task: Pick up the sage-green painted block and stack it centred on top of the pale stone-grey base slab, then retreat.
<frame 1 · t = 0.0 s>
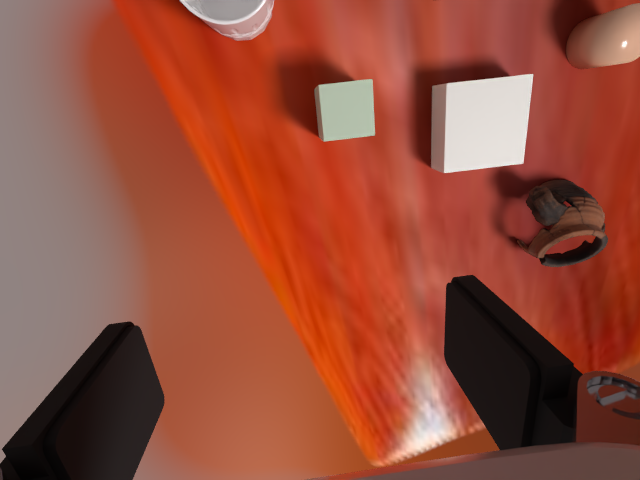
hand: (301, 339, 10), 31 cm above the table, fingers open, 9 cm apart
green block: (338, 111, 38), on the table
base slab: (468, 124, 40), on the table
glossy beige egg: (587, 43, 37), on the table
white cup: (238, 2, 34), on the table
pottery mug: (539, 211, 44), on the table
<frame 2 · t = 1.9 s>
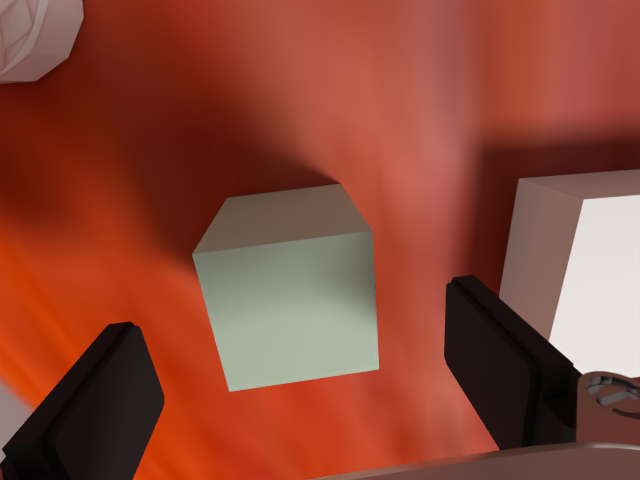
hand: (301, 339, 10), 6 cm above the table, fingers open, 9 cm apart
green block: (292, 242, 16), on the table
base slab: (582, 255, 18), on the table
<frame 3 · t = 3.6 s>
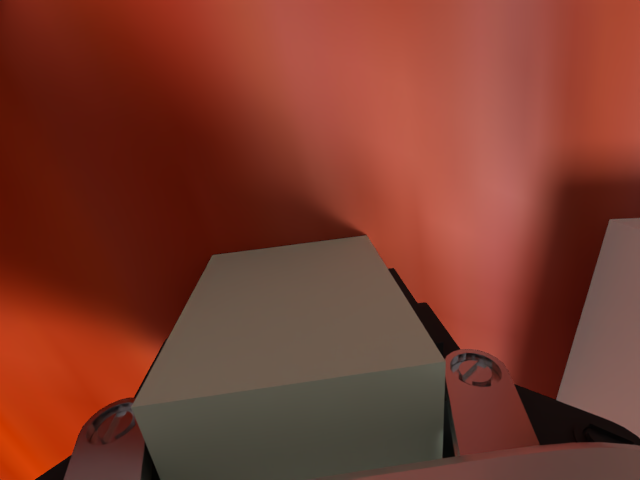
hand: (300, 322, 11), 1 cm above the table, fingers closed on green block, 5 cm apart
green block: (300, 311, 12), on the table, touching gripper
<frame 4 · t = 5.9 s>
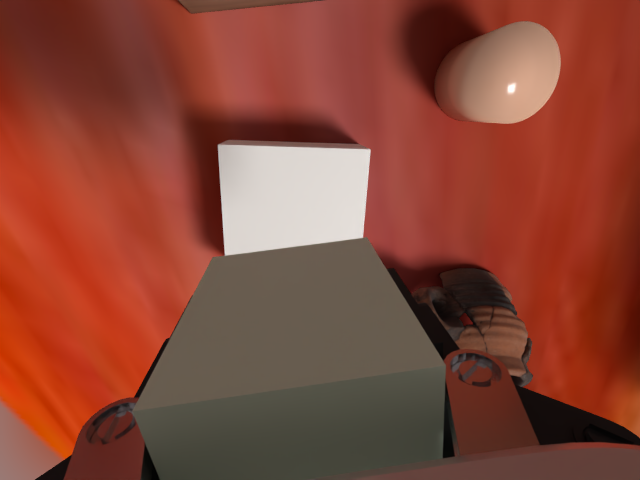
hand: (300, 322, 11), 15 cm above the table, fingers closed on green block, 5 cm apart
green block: (300, 313, 12), point 14 cm above the table, touching gripper
base slab: (293, 204, 25), on the table
glossy beige egg: (470, 82, 23), on the table
pottery mug: (443, 309, 30), on the table
when the fingers open (6 cm above the table, at t = 8.2 s): green block drops 2 cm, resting on base slab.
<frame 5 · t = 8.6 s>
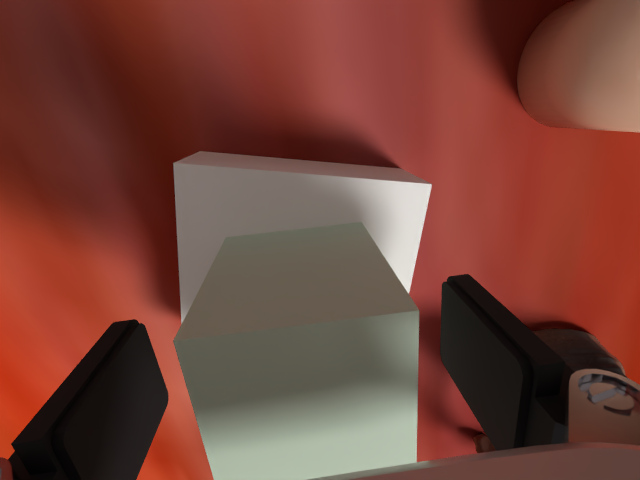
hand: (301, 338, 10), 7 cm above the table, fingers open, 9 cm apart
green block: (301, 289, 13), point 4 cm above the table, touching base slab
base slab: (296, 250, 17), on the table, touching green block
glossy beige egg: (572, 67, 15), on the table
pottery mug: (516, 380, 21), on the table
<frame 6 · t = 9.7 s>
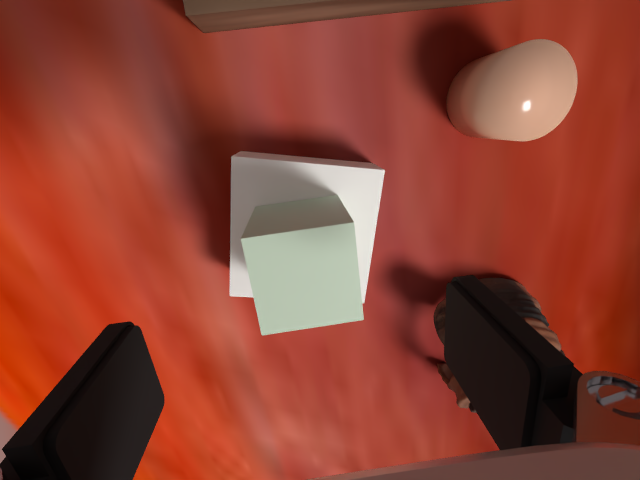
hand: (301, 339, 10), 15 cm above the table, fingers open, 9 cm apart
green block: (302, 239, 21), point 4 cm above the table
base slab: (302, 218, 25), on the table
glossy beige egg: (482, 98, 23), on the table
pottery mug: (468, 320, 29), on the table
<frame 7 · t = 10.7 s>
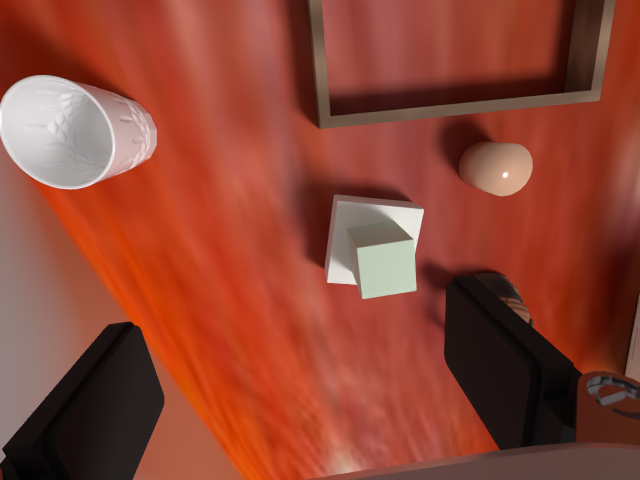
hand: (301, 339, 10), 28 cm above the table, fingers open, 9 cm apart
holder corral: (449, 21, 33), on the table
green block: (372, 247, 36), point 4 cm above the table
base slab: (366, 235, 40), on the table
glossy beige egg: (480, 164, 38), on the table
white cup: (124, 132, 34), on the table
pottery mug: (472, 301, 43), on the table
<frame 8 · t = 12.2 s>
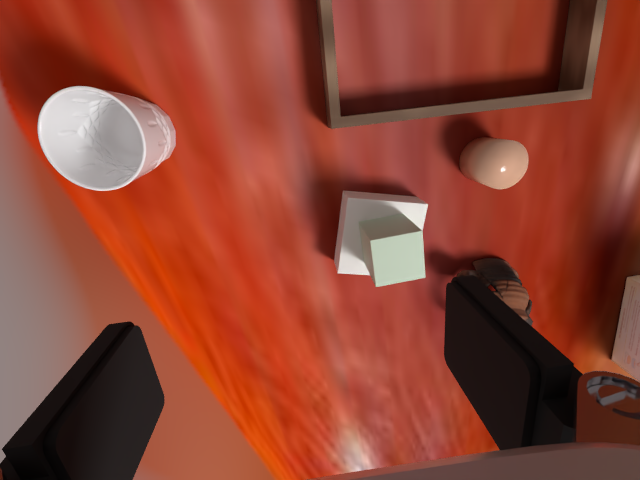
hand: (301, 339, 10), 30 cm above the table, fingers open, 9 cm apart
coffeecake box: (638, 315, 51), on the table
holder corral: (450, 25, 35), on the table
green block: (382, 238, 38), point 4 cm above the table, touching base slab
base slab: (373, 228, 42), on the table, touching green block
glossy beige egg: (479, 159, 40), on the table
white cup: (144, 133, 36), on the table
pottery mug: (474, 285, 46), on the table
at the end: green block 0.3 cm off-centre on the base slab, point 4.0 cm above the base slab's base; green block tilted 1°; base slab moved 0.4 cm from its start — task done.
